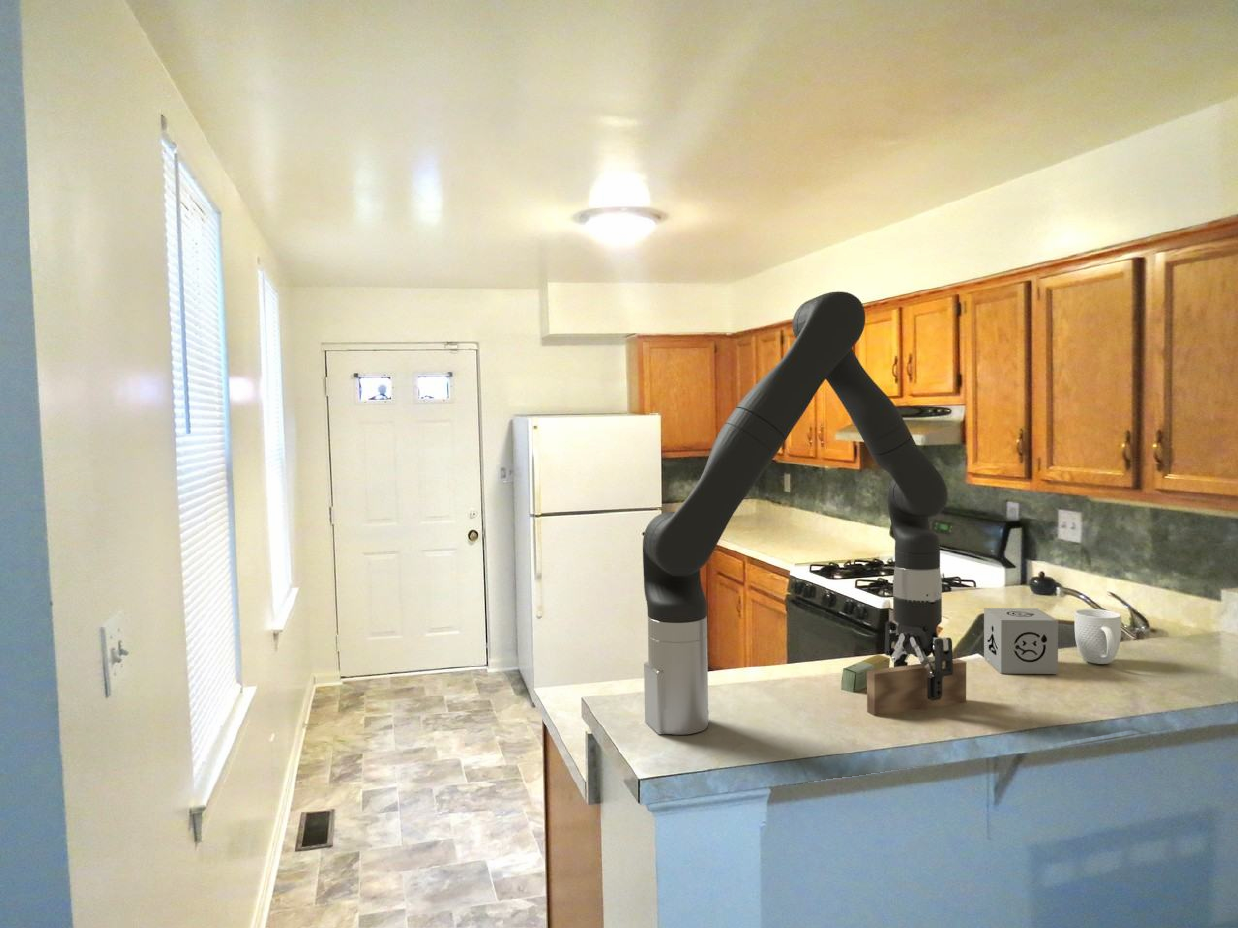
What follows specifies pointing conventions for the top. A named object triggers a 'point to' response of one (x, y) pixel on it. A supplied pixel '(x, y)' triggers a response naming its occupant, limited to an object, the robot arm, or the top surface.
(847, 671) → the medication box
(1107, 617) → the mug
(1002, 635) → the icon cube
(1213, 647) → the top surface
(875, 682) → the walnut screen
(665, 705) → the robot arm
